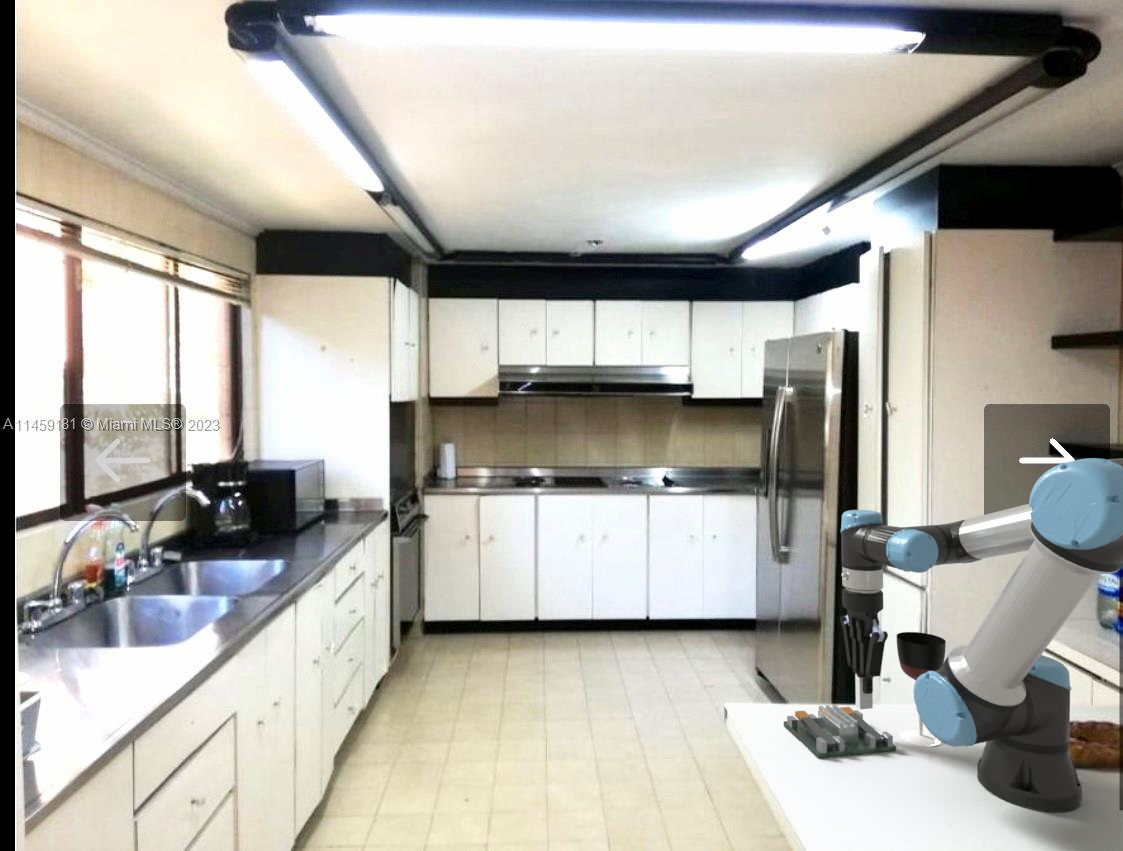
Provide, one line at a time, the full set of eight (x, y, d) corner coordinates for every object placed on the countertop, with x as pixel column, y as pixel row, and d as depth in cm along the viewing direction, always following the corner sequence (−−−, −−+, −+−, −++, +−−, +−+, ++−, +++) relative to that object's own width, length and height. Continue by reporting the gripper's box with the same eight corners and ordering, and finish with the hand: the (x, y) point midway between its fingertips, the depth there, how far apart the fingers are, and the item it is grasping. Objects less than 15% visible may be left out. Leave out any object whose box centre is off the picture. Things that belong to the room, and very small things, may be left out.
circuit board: (896, 751, 137) (896, 725, 137) (818, 758, 135) (818, 732, 135) (854, 719, 151) (855, 696, 151) (783, 726, 149) (783, 702, 149)
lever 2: (883, 743, 138) (883, 738, 138) (873, 744, 138) (874, 739, 138) (848, 711, 150) (849, 706, 150) (840, 712, 149) (840, 707, 149)
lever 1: (835, 747, 136) (835, 743, 136) (825, 748, 136) (825, 743, 136) (804, 715, 148) (804, 710, 148) (795, 715, 148) (795, 711, 148)
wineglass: (943, 752, 137) (944, 647, 136) (893, 741, 142) (894, 640, 141) (946, 735, 144) (947, 636, 143) (898, 725, 148) (899, 629, 148)
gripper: (827, 582, 148) (829, 696, 148) (863, 597, 135) (865, 722, 136) (861, 580, 150) (862, 693, 150) (900, 595, 137) (902, 719, 137)
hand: (864, 707), depth 143 cm, fingers closed
